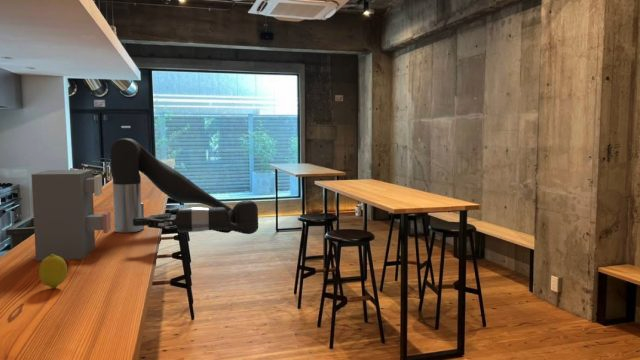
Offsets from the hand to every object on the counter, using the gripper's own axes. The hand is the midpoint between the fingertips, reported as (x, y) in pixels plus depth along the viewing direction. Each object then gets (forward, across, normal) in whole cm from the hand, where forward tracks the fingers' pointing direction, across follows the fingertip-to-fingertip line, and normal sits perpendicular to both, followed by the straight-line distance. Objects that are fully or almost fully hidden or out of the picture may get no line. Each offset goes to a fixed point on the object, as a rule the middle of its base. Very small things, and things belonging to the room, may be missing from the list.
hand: (133, 221), depth 138 cm
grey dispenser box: (+19, 0, -9) cm, 20 cm away
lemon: (+13, -32, -9) cm, 35 cm away
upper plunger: (+13, 0, +9) cm, 16 cm away
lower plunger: (+12, 0, -2) cm, 12 cm away
